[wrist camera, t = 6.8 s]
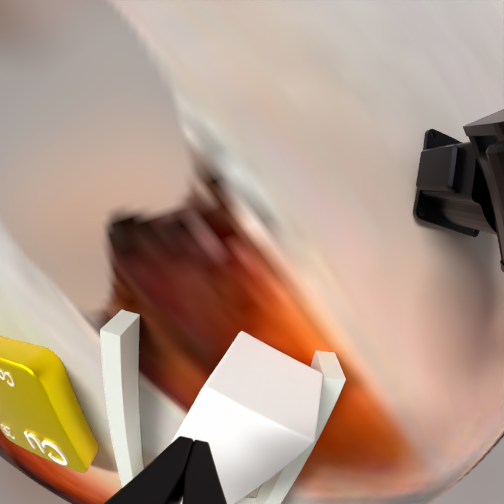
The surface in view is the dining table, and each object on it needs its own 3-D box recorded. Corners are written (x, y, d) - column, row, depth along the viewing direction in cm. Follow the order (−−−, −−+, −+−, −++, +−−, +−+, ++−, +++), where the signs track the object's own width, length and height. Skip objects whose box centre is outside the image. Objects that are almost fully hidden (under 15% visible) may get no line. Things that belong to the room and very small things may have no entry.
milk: (241, 328, 18) (160, 465, 25) (202, 386, 12) (134, 502, 19) (326, 373, 17) (208, 492, 24) (318, 443, 11) (188, 531, 18)
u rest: (334, 352, 20) (345, 379, 17) (265, 504, 25) (265, 526, 22) (121, 309, 20) (100, 329, 17) (133, 477, 25) (125, 497, 22)
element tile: (61, 347, 22) (33, 373, 17) (105, 453, 25) (90, 481, 20) (-20, 327, 23) (-45, 343, 18) (21, 422, 26) (4, 441, 21)
